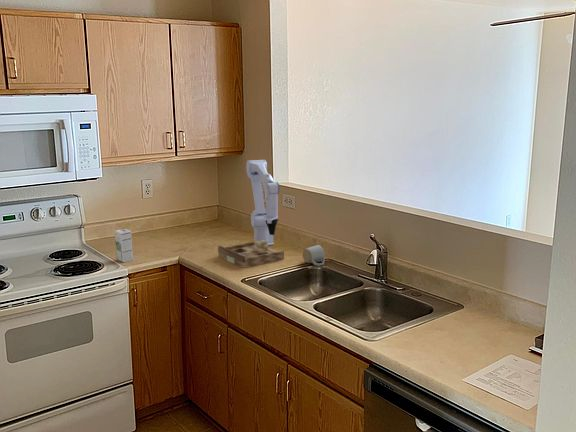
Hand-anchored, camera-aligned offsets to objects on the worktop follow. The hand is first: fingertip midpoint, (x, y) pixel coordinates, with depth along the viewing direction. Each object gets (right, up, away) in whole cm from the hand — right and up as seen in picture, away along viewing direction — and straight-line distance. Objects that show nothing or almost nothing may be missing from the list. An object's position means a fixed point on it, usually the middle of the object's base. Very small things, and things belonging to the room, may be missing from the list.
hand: (271, 234), depth 280 cm
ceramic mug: (+21, -13, -13) cm, 27 cm away
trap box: (-10, -11, -5) cm, 16 cm away
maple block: (-5, -8, -2) cm, 10 cm away
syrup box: (-69, -12, -10) cm, 71 cm away
